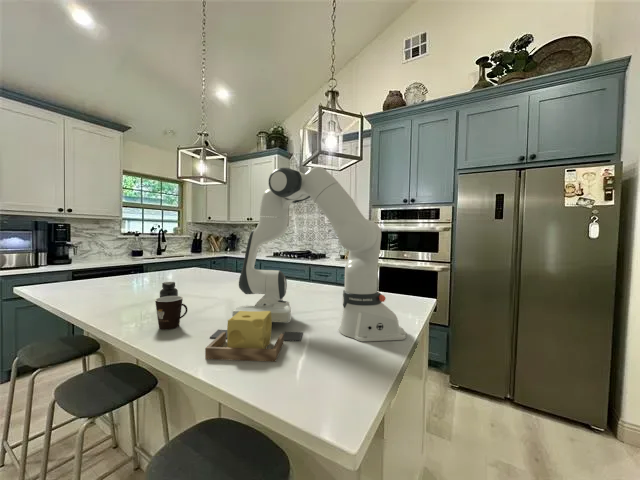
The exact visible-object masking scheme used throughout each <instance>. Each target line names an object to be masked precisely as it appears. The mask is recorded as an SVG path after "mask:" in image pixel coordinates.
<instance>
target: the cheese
mask: <svg viewBox="0 0 640 480" xmlns="http://www.w3.org/2000/svg"><path fill="white" fill-rule="evenodd" d="M272 323H273V322H272V318H271V311H239V312H238V313H237V314H236V315H234V316H233V317H230V318H229V319H227V324H226V325H227V329H226V330H227V339H226V344H227V345H226V346H227V347H232V348H262V349H268V346H269V345H270V343H271V338H272V326H273V324H272Z"/></svg>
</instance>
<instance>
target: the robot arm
mask: <svg viewBox="0 0 640 480" xmlns="http://www.w3.org/2000/svg"><path fill="white" fill-rule="evenodd" d="M268 187H269V189H267V190H265V191H264V192H263V194H262V196H261V201H260V208H259V219H258V223H257V226H256V228H254V229H252V230H251V232H250V234H249V235H248V236H249V237H248V239H247V240H248V241H247V245H246V248H245V253H244V259H243V264H242V269H241V271H240V276H239V280H238V287H239V289H240V290H241V292H242V293H244V294H245V295H255V294H256V295H262V297H261V298H260V299H259V300H258V301H257V302H256V303H255V304H254V305H239V306H237V307H236V308H234V309H233V310H232V312H231V313H232V317H233V316H234V315H236V314H237V313H238V312H239V311H271V318H272V323H289V322H291V318H292V317H291V316H292V312H291V311H292V310H291V309H292V308H291V305H290V302H289V301H288V300H287V301H286V300H284V297H285V296H286V294H287V290H288V289H287V287H288V282H287V277H286V276H285V273H284V272H282V271H281V270H277V269H276V270H275V269H257V268H255V265H256V259H257V255H258V251H259V248H260V247H261V246H262V245H264V244H267V243H269V242H272V241H275V240H277V239H279V238H281V237H283V235H285V233H287V232H286V231H287V230H288V229H287V228H288V221H289V207H290V204H291V203H293V204H296V203H300V202H303V201H306V200H308V199H310V198H311V199H312V200H313V202H314V203H315V205H317V207H318V208H319V209H320V211H321V212H322V213H323V215H324V216H325V218H327V220H328V221H329V223H330V224H331V226H332V228H333V230H334V233H335V234H336V236H337V237H338V241H339V244H340V245H341V247H343V248H344V249H346V250H347V251H348V255H347V261H346V264H345V267H344V289H343V290H342V308H343V309H342V310H343V311H342V315H341V316H342V317H341V321H340V325H339V329H338V332H339V333H340V334H341V335H343V336H345V337H348V338H352V339H355V340H357V341H358V342H378V341H381V342H382V341H403V340H405V339H406V337H407V333H406V331H405V329H404V328H403V327H402V326H400V324H399V320H398V316H397V315H396V314H395V312H394V311H393V310H391V309H390V308H389V307H388V306H386V305H385V304H384V303H383V302H385V301H386V296H385V295H384V294H382V293H380V292H379V291H377V288H378V266H379V261H380V260H379V258H380V251H381V241H382V230H381V227H380V226H379V225H378V224H377V223H376V222H375V221H373V220H370V219H367V218H366V217H365V216H364V215H363V214H362V211H360V209H359V207H358V206H357V205H356V203H355V200H354V199H353V197H351V196H350V194H349V193H348V192H347V190H345V188H344V187H343V186H342V185H341V183H340V182H339V181H338V180H337V179H336V178H335V177H334V176H333V175H332V174H331V173H330V172H329V171H328V170H326V169H325V168H323V167H321V166H313V167H311V168H309V169H308V170H307V171H306V172H305V173H303V172H301V171H299V170H297V169H292V168H289V167H278V168H275V169H274V170H273V171H272V172H270V175H269V177H268ZM232 317H231V318H232Z"/></svg>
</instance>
